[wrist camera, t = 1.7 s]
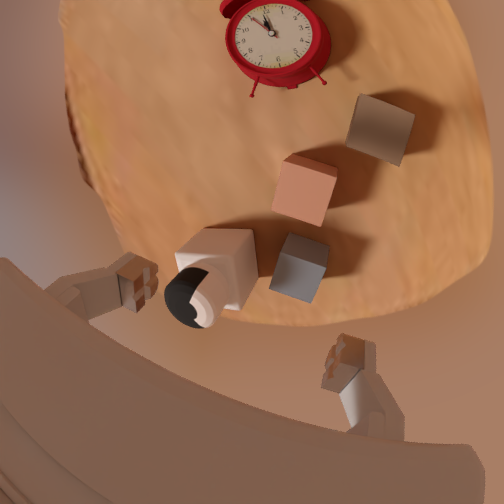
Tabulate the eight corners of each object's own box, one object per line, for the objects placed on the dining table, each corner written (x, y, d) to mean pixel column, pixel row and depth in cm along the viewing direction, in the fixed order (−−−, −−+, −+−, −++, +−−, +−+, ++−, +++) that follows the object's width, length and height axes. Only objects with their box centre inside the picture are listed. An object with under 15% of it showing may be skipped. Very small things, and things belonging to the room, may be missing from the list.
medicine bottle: (211, 273, 39) (167, 329, 29) (201, 227, 35) (147, 276, 25) (259, 277, 36) (225, 342, 26) (253, 228, 33) (211, 283, 23)
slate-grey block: (289, 231, 32) (280, 251, 28) (329, 245, 31) (326, 267, 27) (279, 266, 35) (268, 288, 30) (316, 279, 34) (310, 303, 30)
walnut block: (357, 97, 22) (361, 93, 18) (403, 115, 22) (415, 115, 17) (345, 141, 25) (346, 146, 21) (389, 158, 24) (399, 166, 20)
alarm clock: (235, 105, 23) (190, -21, 15) (251, 95, 28) (214, -11, 19) (344, 85, 20) (297, -53, 11) (340, 80, 24) (304, -34, 15)
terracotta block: (292, 153, 28) (283, 160, 23) (337, 167, 27) (337, 177, 23) (281, 195, 30) (270, 210, 26) (324, 209, 29) (320, 227, 25)
